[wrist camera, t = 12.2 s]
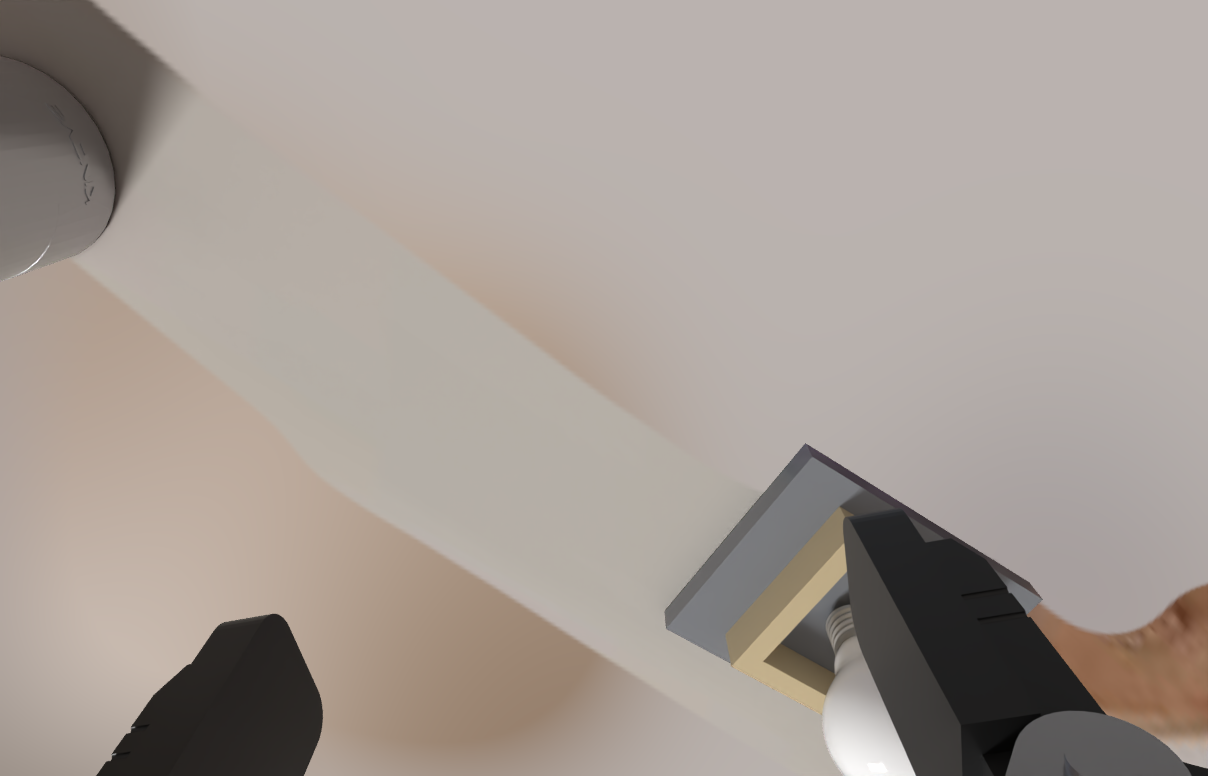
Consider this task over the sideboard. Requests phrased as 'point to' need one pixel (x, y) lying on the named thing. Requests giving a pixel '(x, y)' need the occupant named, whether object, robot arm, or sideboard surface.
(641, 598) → the sideboard surface
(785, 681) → the bulb socket
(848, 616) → the lightbulb
